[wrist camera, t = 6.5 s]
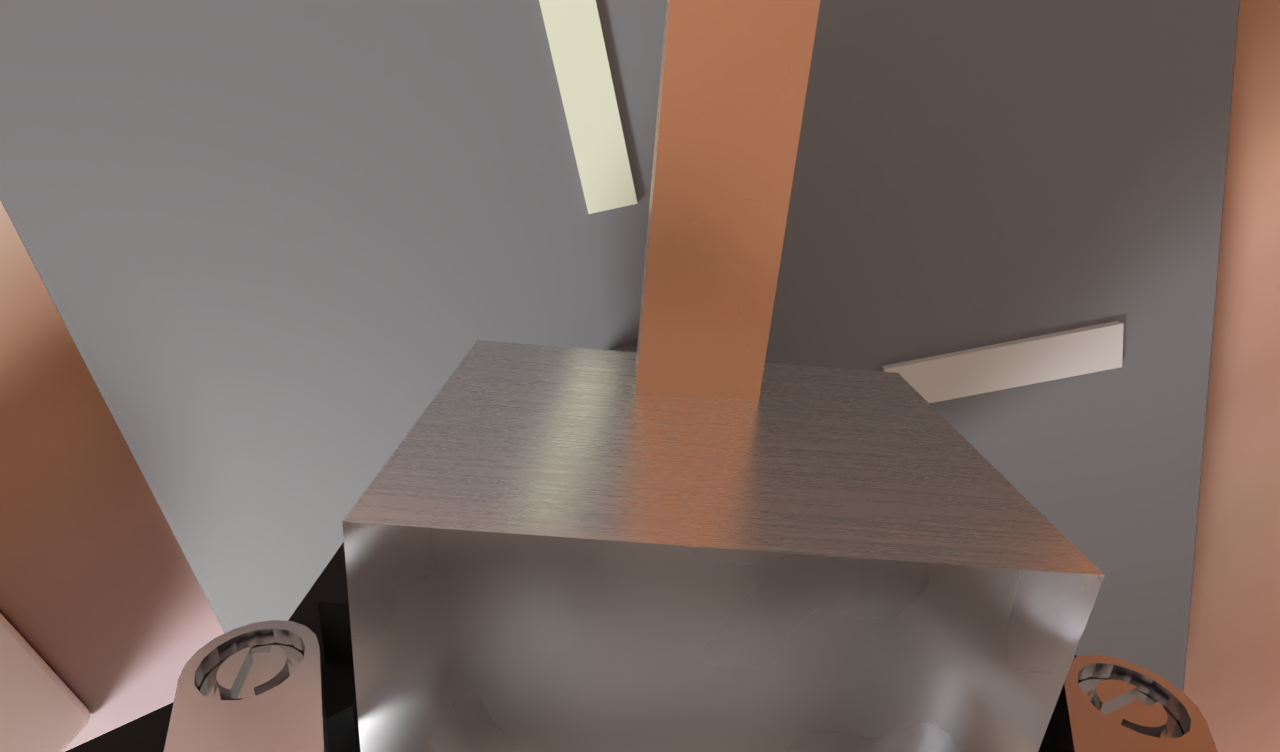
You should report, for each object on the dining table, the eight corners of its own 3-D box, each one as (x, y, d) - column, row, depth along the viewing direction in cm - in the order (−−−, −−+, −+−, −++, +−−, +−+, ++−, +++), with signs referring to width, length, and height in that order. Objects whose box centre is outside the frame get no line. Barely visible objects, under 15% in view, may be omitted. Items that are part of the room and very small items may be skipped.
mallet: (981, 5, 9) (1368, -126, 4) (825, 696, 13) (930, 1032, 8) (477, -42, 9) (282, -235, 4) (477, 674, 13) (380, 1004, 8)
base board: (1130, 683, 21) (1184, 745, 19) (369, 801, 22) (341, 871, 20) (1178, -330, 13) (1284, -420, 10) (-24, -21, 14) (-137, -46, 12)
